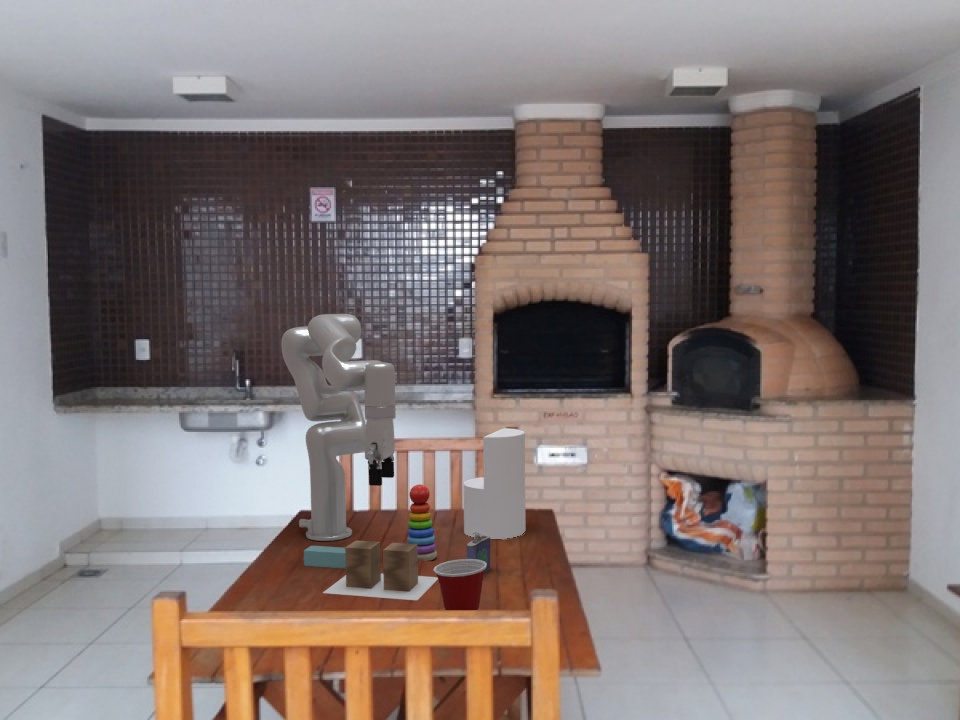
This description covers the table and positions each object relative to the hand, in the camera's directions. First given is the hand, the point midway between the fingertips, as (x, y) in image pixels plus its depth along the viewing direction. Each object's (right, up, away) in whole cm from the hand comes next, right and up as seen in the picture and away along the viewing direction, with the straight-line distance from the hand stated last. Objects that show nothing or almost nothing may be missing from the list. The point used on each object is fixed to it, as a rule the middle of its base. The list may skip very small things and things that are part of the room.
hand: (381, 481), depth 221 cm
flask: (+24, -21, -12) cm, 34 cm away
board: (+2, -22, -20) cm, 29 cm away
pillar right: (+7, -21, -21) cm, 30 cm away
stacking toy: (+10, -20, +4) cm, 23 cm away
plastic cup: (+20, -23, -41) cm, 51 cm away
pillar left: (-2, -21, -18) cm, 28 cm away
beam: (-10, -21, -4) cm, 24 cm away
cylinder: (+28, -18, +29) cm, 45 cm away
